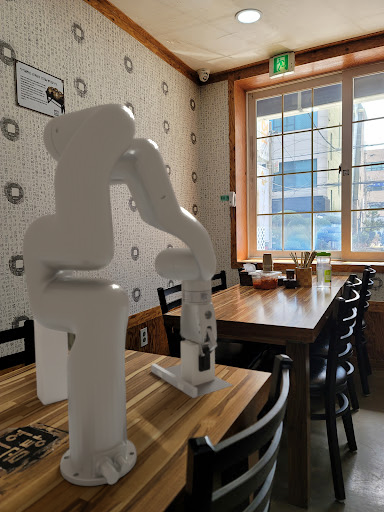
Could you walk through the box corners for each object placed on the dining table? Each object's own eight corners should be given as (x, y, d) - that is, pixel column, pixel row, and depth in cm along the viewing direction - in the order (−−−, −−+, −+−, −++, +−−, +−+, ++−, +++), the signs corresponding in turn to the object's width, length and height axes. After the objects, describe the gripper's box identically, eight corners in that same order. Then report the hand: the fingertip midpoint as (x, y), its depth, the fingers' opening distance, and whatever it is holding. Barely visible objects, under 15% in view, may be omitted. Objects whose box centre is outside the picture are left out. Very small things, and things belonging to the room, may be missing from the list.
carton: (192, 386, 90) (191, 346, 89) (180, 379, 94) (180, 341, 94) (214, 379, 94) (214, 341, 93) (202, 373, 98) (202, 336, 98)
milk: (44, 405, 84) (39, 310, 83) (37, 396, 89) (32, 306, 88) (70, 398, 88) (66, 307, 87) (62, 389, 93) (58, 303, 91)
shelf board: (233, 391, 90) (233, 377, 90) (192, 404, 84) (192, 389, 83) (188, 367, 107) (187, 355, 107) (150, 377, 100) (150, 364, 100)
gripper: (230, 299, 88) (230, 373, 89) (189, 290, 102) (191, 355, 103) (204, 303, 84) (205, 381, 85) (166, 293, 98) (167, 360, 99)
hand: (197, 366), depth 94 cm, fingers closed on carton, 5 cm apart
